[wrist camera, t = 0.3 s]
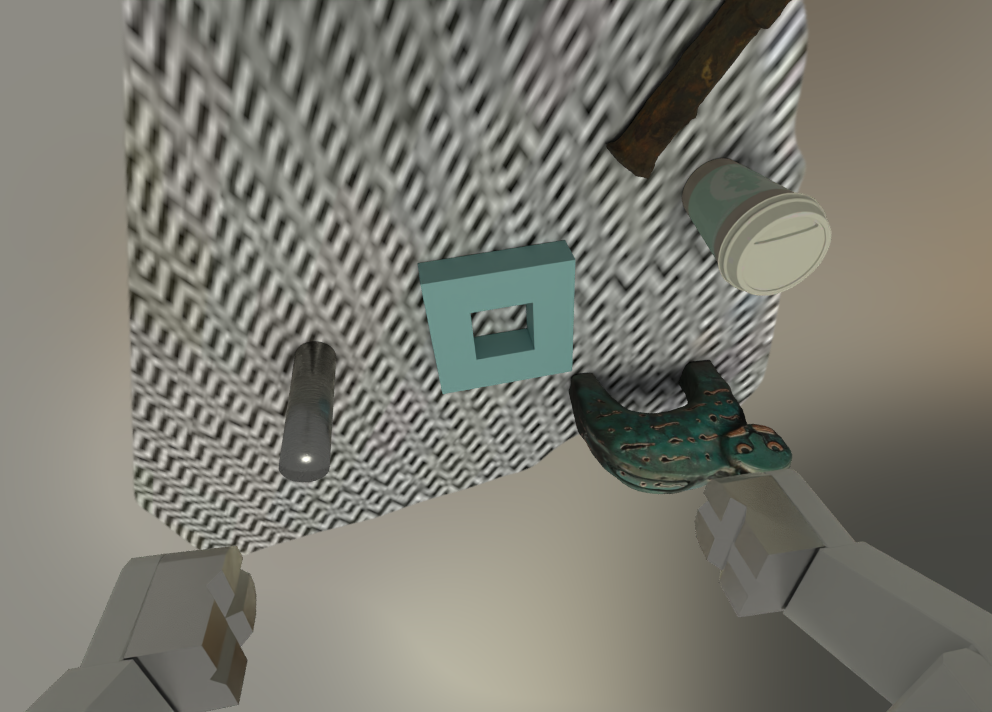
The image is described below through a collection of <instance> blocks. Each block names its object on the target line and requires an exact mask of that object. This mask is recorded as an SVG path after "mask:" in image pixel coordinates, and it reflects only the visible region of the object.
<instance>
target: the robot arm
mask: <svg viewBox="0 0 992 712" xmlns="http://www.w3.org/2000/svg"><path fill="white" fill-rule="evenodd" d="M704 495H705V496H706V498H707V500H708V501H707V502H706V503H705V504H703V505H702V506H701V507H700V508H699V509H698V511H697V515H696V519H695V529H696V537H697V539H698V543H699V545H700V548H701V550H702V552H703V554H704V556H705V558H706V560H707V561H709V562H710V563H712V564H713V565H715V566H716V567H717V568H719V569H720V570H721V572H720V578H719V583H720V585H721V587H722V589H723V591H724V593H725V594H726V596H727V598H728V600H729V602H730V603H731V605H732V607H733V609H734V611H735V612H736V614H737V616H738V617H743V616H750V615H757V614H764V613H771V612H777V611H784V612H783V614H784V615H786V616H787V617H788V618H789V619H790V620H792V621H793V622H794V623H795V624H797V625H798V626H799V627H800V628H801V629H802V630H804V631H805V632H806V633H807V634H809V635H810V636H811V637H812V638H813V639H815V640H816V641H817V642H819V644H821V645H822V646H823V647H824V648H825V649H827V650H828V651H829V652H830V653H831V654H833V655H834V656H835V657H837V658H838V659H839V660H840V661H841V662H842V663H843V664H845V665H846V666H847V667H848V668H850V669H851V670H852V671H853V672H854V673H856V674H857V675H858V676H859V677H860V678H862V679H863V680H864V681H865V682H867V683H868V684H869V685H870V686H871V687H872V688H874V689H875V690H876V691H877V692H878V693H880V694H881V695H882V696H883V697H885V698H886V699H887V700H888V701H889V702H890V703H892V704H893V706H892V707H891V708H890V709H889V710H888V711H887V712H992V614H990V613H989V612H987V611H985V610H983V609H982V608H980V607H978V606H976V605H974V604H973V603H971V602H969V601H967V600H966V599H964V598H962V597H960V596H959V595H957V594H955V593H953V592H952V591H950V590H948V589H946V588H945V587H943V586H941V585H939V584H937V583H936V582H934V581H932V580H930V579H929V578H927V577H925V576H923V575H921V574H920V573H918V572H916V571H915V570H913V569H911V568H909V567H907V566H906V565H904V564H902V563H900V562H899V561H897V560H895V559H893V558H892V557H890V556H888V555H886V554H885V553H883V552H881V551H879V550H877V549H876V548H874V547H872V546H870V545H868V544H867V543H865V542H857V543H856V542H855V541H854V540H853V539H852V537H851V536H850V535H849V534H848V532H846V530H845V529H844V528H843V526H842V525H841V524H840V523H839V522H838V520H837V519H836V518H835V517H834V516H833V514H832V513H831V512H830V511H829V510H828V508H827V507H826V506H825V505H824V503H823V502H822V501H821V500H820V499H819V497H818V496H817V495H816V494H815V493H814V491H813V490H812V489H811V488H810V487H809V485H808V484H807V483H806V482H805V480H804V479H803V478H802V477H801V476H800V475H799V473H797V472H796V471H794V470H792V469H781V470H774V471H768V472H756V473H749V474H743V475H736V476H730V477H723V478H717V479H712V480H711V481H709V482H708V483H707V485H706V488H705V490H704ZM242 560H243V557H242V555H241V553H240V551H239V549H238V547H237V546H230V547H221V548H212V549H204V550H196V551H186V552H178V553H169V554H161V555H153V556H146V557H138V558H131V560H130V561H129V562H128V563H127V564H126V565H125V566H124V568H123V569H122V571H121V573H120V575H119V578H118V580H117V582H116V585H115V587H114V589H113V591H112V594H111V596H110V599H109V601H108V603H107V605H106V608H105V610H104V612H103V615H102V617H101V619H100V622H99V624H98V626H97V629H96V631H95V633H94V635H93V638H92V640H91V643H90V645H89V647H88V649H87V652H86V654H85V656H84V659H83V661H82V663H81V666H80V667H78V668H72V669H68V670H67V671H66V672H65V673H64V674H63V675H62V676H61V677H60V678H59V679H58V680H57V681H56V682H55V683H54V684H53V685H52V686H51V687H50V688H49V689H48V690H47V691H46V692H45V693H44V694H43V695H41V696H40V697H39V698H38V699H37V700H36V701H35V702H34V703H33V704H32V705H31V706H30V707H29V708H28V709H27V710H26V711H25V712H206V711H211V710H216V709H221V708H226V707H231V706H235V705H239V701H240V696H241V691H242V686H243V681H244V676H245V670H246V666H247V658H246V656H245V655H244V652H243V651H242V649H241V646H242V645H243V643H244V642H245V641H246V640H247V639H248V637H249V636H250V635H251V634H252V633H253V629H254V623H255V618H256V591H255V585H254V582H253V579H252V577H251V575H250V574H249V573H247V572H245V571H243V570H241V569H240V568H241V564H242Z"/></svg>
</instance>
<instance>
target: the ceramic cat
mask: <svg viewBox="0 0 992 712" xmlns="http://www.w3.org/2000/svg"><path fill="white" fill-rule="evenodd" d="M679 385H680V387H681V388H682V390H683V391H684V393H685V395H686V398H687V401H688V404H687V405H685V406H683V407H680V408H677V409H674V410H671V411H667V412H661V413H641V412H635V411H631V410H628V409H626V408H625V407H623V406H622V405H620V404H619V403H618V402H617V401H616V400H614V399H613V398H612V397H611V396H610V395H609V394H608V392H607V391H606V390H605V389H604V388H603V387H602V386H601V384H600V383H599V382H598V380H597V379H596V378H595V376H594V375H593V374H592V373H591V374H590V373H583V374H579V375H575V376H573V377H572V380H571V387H570V389H569V395H570V400H571V404H572V409H573V414H574V417H575V422H576V426H577V429H578V432H579V434H580V435H581V436H582V438H583V439H584V440H585V442H586V443H587V445H588V447H589V449H590V451H591V452H592V454H593V455H594V456H595V458H596V459H597V460H598V462H599V463H600V464H601V465H602V467H604V469H606V470H607V471H608V472H609V473H611V474H612V475H613V476H615V477H616V478H617V479H619V480H620V481H621V482H622V483H623V484H625V485H627V486H628V487H630V488H632V489H635V490H637V491H641V492H646V493H653V494H673V493H679V492H682V491H685V490H691V489H696V488H699V487H702V486H704V485H707V483H708V482H709V481H711V480H712V479H717V478H723V477H730V476H736V475H743V474H749V473H756V472H768V471H774V470H781V469H790V464H791V461H792V453H791V451H790V449H789V447H788V446H787V445H786V444H785V442H784V441H783V439H782V438H781V437H780V436H779V435H778V434H777V433H776V432H775V431H774V430H773V429H771V428H769V427H766V426H763V425H757V424H747V422H746V419H745V415H744V413H743V409H742V408H741V407H740V405H739V403H738V402H737V400H736V399H735V397H734V396H733V394H732V392H731V389H730V386H729V385H728V384H727V383H726V382H725V381H724V379H723V378H722V377H721V376H720V375H719V373H718V372H717V370H716V369H715V367H714V366H713V364H712V363H711V361H710V360H707V361H696V362H690V363H689V364H688V365H686V367H685V368H684V370H683V372H682V376H681V379H680V382H679Z"/></svg>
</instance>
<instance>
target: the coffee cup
mask: <svg viewBox="0 0 992 712" xmlns="http://www.w3.org/2000/svg"><path fill="white" fill-rule="evenodd" d="M682 202H683V206H684V208H685V210H686V212H687V213H688V215H689V217H690V218H691V220H692V222H693V223H694V225H695V226H696V228H697V230H698V231H699V233H700V234H701V236H702V238H703V239H704V241H705V242H706V244H707V246H708V247H709V249H710V251H711V252H712V254H713V255H714V257H715V259H716V260H717V262H718V266H719V270H720V273H721V275H722V277H723V278H724V279H725V280H726V281H727V282H728V283H729V284H731V285H732V286H734V287H735V288H737V289H739V290H742V291H746V292H748V293H750V294H753V295H759V296H766V295H773V294H777V293H780V292H783V291H785V290H788V289H790V288H792V287H794V286H795V285H797V284H798V283H800V282H801V281H803V280H804V279H805V278H806V277H808V276H809V275H810V274H811V273H812V272H813V271H814V270H815V269H816V268H817V267H818V265H819V264H820V263H821V262H822V260H823V259H824V257H825V255H826V253H827V251H828V249H829V246H830V242H831V227H830V225H829V223H828V221H827V217H826V214H825V211H824V210H823V208H822V207H821V206H820V205H819V203H818V202H817V201H816V200H815V199H814V198H812V197H810V196H808V195H806V194H802V193H794V192H792V191H790V190H789V189H787V188H785V187H783V186H781V185H779V184H777V183H775V182H773V181H771V180H770V179H768V178H766V177H764V176H762V175H760V174H758V173H756V172H754V171H752V170H750V169H749V168H747V167H745V166H743V165H741V164H739V163H737V162H735V161H733V160H731V159H726V158H720V159H715V160H711V161H709V162H707V163H705V164H703V165H702V166H701V167H699V168H698V169H697V170H696V171H695V172H694V173H693V174H692V175H691V176H690V178H689V179H688V181H687V183H686V184H685V187H684V190H683V194H682Z"/></svg>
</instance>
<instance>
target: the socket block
mask: <svg viewBox="0 0 992 712" xmlns="http://www.w3.org/2000/svg"><path fill="white" fill-rule="evenodd" d="M418 268H419V276H420V284H421V289H422V294H423V299H424V304H425V309H426V314H427V319H428V324H429V329H430V334H431V339H432V344H433V349H434V354H435V359H436V363H437V368H438V373H439V378H440V383H441V388H442V393H443V394H446V393H451V392H457V391H463V390H468V389H474V388H479V387H485V386H491V385H496V384H502V383H508V382H513V381H519V380H524V379H530V378H536V377H541V376H547V375H553V374H558V373H564V372H569V371H572V353H573V320H574V286H575V258H574V256H573V254H572V253H571V251H570V249H569V247H568V245H567V243H566V241H565V240H563V241H556V242H550V243H544V244H537V245H531V246H525V247H518V248H512V249H506V250H500V251H493V252H487V253H481V254H474V255H468V256H462V257H455V258H449V259H443V260H436V261H430V262H424V263H418ZM521 304H526V313H527V328H526V329H520V330H514V331H509V332H503V333H497V334H491V335H485V336H479V337H473V330H472V323H471V315H470V313H473V312H479V311H485V310H491V309H497V308H503V307H509V306H515V305H521Z"/></svg>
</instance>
